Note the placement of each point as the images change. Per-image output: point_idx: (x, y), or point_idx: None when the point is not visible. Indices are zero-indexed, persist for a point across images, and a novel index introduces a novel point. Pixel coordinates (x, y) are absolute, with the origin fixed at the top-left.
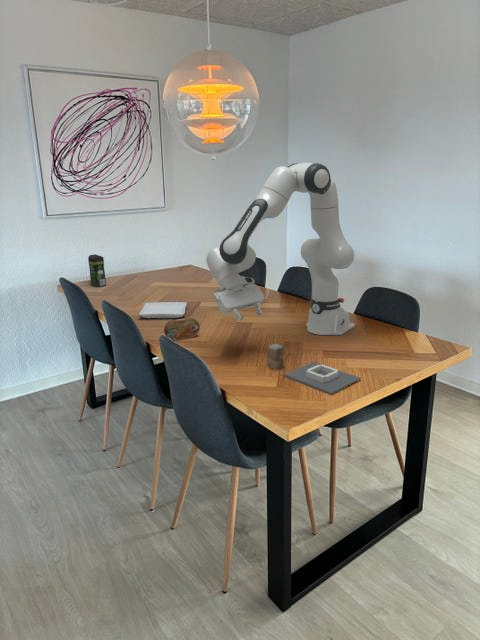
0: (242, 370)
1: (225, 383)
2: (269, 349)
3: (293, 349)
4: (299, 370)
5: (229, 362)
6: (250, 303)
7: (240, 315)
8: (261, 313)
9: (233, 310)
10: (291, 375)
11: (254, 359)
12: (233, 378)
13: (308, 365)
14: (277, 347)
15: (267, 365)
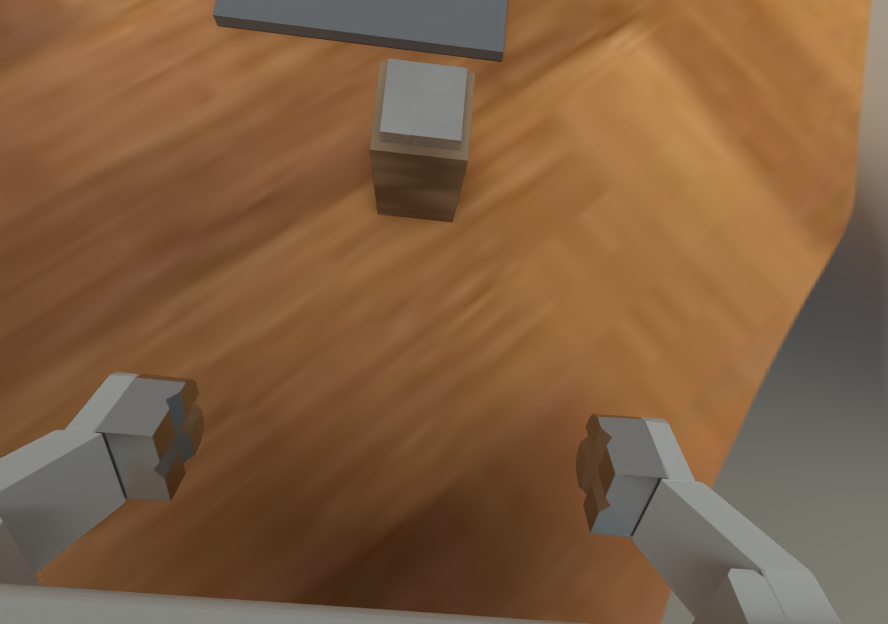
0: (609, 305)
1: (809, 257)
2: (468, 143)
3: (59, 270)
4: (397, 14)
5: (574, 471)
6: (196, 598)
7: (655, 454)
8: (133, 379)
9: (817, 610)
10: (490, 11)
11: (412, 369)
12: (731, 268)
13: (294, 11)
14: (445, 66)
15: (452, 219)
